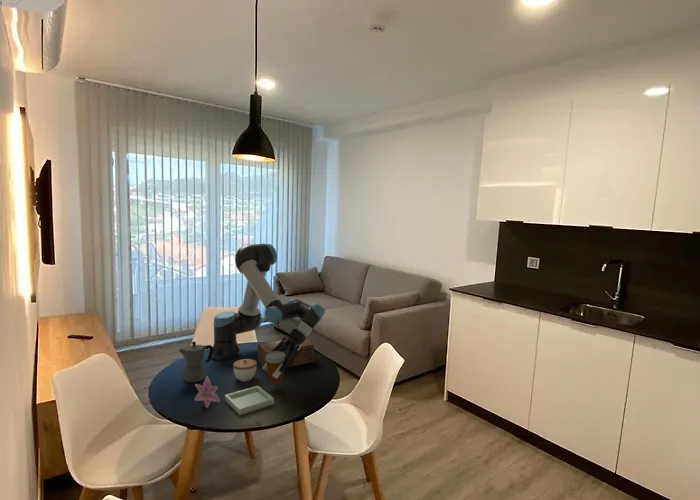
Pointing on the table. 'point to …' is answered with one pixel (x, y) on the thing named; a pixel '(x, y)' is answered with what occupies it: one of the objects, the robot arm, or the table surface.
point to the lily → (206, 392)
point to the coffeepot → (195, 361)
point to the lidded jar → (245, 369)
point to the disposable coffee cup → (274, 365)
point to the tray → (249, 400)
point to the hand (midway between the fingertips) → (269, 373)
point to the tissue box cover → (302, 358)
